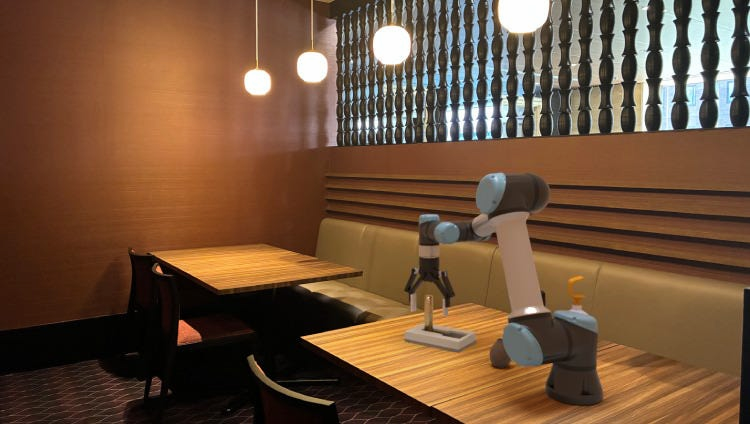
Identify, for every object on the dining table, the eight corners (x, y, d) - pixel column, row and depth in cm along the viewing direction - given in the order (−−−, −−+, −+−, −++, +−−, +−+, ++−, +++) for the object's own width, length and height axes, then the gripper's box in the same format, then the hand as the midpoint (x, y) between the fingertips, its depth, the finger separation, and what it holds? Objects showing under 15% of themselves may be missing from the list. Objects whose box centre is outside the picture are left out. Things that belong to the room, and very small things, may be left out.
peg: (431, 340, 205) (431, 298, 204) (417, 337, 208) (417, 296, 207) (439, 336, 210) (440, 295, 209) (425, 333, 213) (426, 293, 212)
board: (458, 352, 194) (458, 341, 194) (404, 341, 207) (404, 331, 207) (476, 342, 205) (476, 332, 205) (424, 332, 218) (424, 322, 218)
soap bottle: (593, 347, 200) (595, 279, 198) (567, 347, 200) (569, 279, 198) (584, 340, 209) (586, 274, 207) (559, 339, 209) (561, 274, 207)
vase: (511, 370, 177) (512, 343, 176) (489, 368, 178) (489, 341, 178) (511, 363, 184) (511, 336, 183) (489, 361, 185) (489, 335, 184)
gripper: (464, 257, 203) (464, 316, 204) (405, 252, 217) (406, 307, 218) (454, 260, 196) (454, 320, 198) (395, 255, 211) (395, 311, 212)
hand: (429, 313), depth 208 cm, fingers open, 13 cm apart
